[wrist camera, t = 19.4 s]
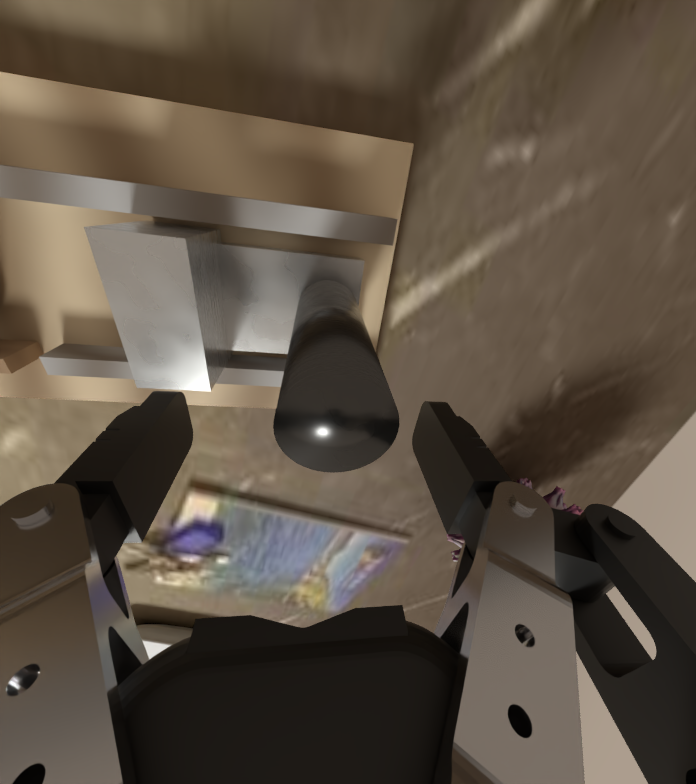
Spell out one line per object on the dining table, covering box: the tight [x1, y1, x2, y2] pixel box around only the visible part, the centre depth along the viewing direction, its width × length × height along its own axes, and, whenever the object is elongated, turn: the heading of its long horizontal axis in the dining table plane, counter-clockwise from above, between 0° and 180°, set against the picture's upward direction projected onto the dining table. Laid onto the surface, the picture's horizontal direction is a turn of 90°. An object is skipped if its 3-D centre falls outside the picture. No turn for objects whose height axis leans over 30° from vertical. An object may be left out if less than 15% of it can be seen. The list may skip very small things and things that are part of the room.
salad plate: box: [136, 624, 193, 659], centre depth 42 cm, size 21×21×3 cm
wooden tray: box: [0, 72, 414, 409], centre depth 14 cm, size 25×14×4 cm, turn 83°
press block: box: [84, 220, 399, 472], centre depth 11 cm, size 10×6×10 cm, turn 83°
